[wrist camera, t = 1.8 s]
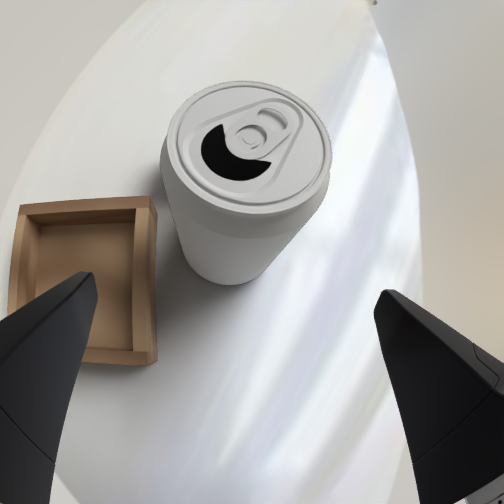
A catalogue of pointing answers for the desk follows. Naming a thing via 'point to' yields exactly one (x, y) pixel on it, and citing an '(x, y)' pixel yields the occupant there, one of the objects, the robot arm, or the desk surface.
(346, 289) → the desk surface
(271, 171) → the beverage can
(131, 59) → the desk surface
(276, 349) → the desk surface
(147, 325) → the tray
